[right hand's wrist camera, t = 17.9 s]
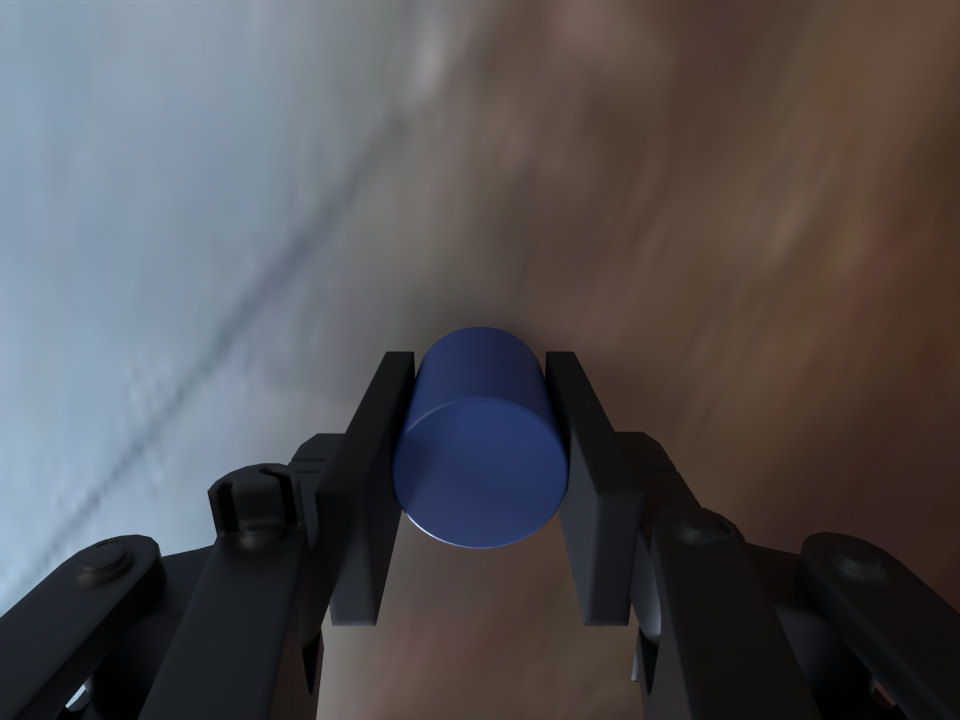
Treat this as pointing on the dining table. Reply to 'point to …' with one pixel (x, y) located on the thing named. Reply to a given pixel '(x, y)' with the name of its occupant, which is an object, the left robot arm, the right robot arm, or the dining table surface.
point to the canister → (480, 443)
